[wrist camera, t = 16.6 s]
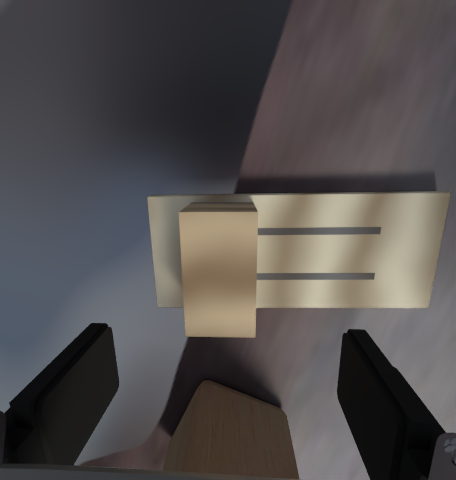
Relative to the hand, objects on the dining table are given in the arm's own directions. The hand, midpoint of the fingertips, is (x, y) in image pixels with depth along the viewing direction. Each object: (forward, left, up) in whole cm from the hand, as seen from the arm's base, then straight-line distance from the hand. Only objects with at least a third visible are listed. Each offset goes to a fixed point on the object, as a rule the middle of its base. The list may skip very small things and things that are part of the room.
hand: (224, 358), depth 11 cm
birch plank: (-5, 0, -14) cm, 15 cm away
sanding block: (+1, 0, -13) cm, 13 cm away
